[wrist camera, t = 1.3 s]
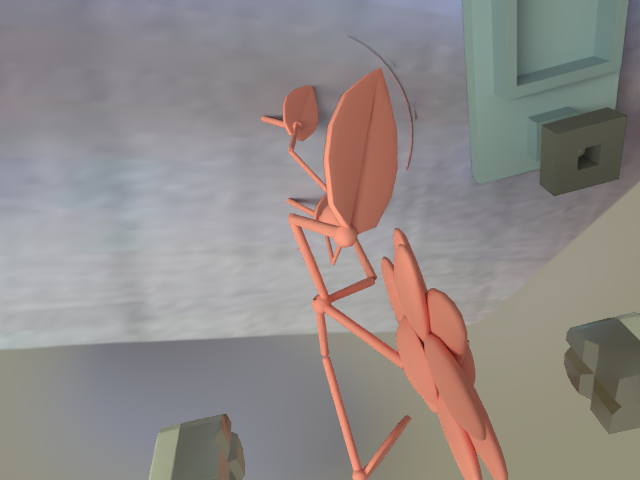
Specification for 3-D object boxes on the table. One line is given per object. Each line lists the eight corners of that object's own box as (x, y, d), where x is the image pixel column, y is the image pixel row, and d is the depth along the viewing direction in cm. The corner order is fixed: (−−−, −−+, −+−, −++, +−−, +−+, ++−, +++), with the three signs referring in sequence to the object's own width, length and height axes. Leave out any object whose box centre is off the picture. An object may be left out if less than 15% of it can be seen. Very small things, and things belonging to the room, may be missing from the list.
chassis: (460, -32, 40) (499, -27, 34) (620, -75, 40) (689, -79, 34) (472, 176, 51) (504, 209, 45) (598, 142, 51) (648, 170, 45)
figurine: (300, 266, 54) (377, 642, 25) (224, 29, 41) (194, 239, 11) (429, 229, 54) (660, 560, 25) (397, -20, 41) (831, 57, 11)
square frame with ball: (541, 124, 42) (557, 134, 40) (607, 107, 42) (627, 115, 40) (539, 184, 45) (554, 196, 43) (601, 168, 45) (618, 178, 43)
